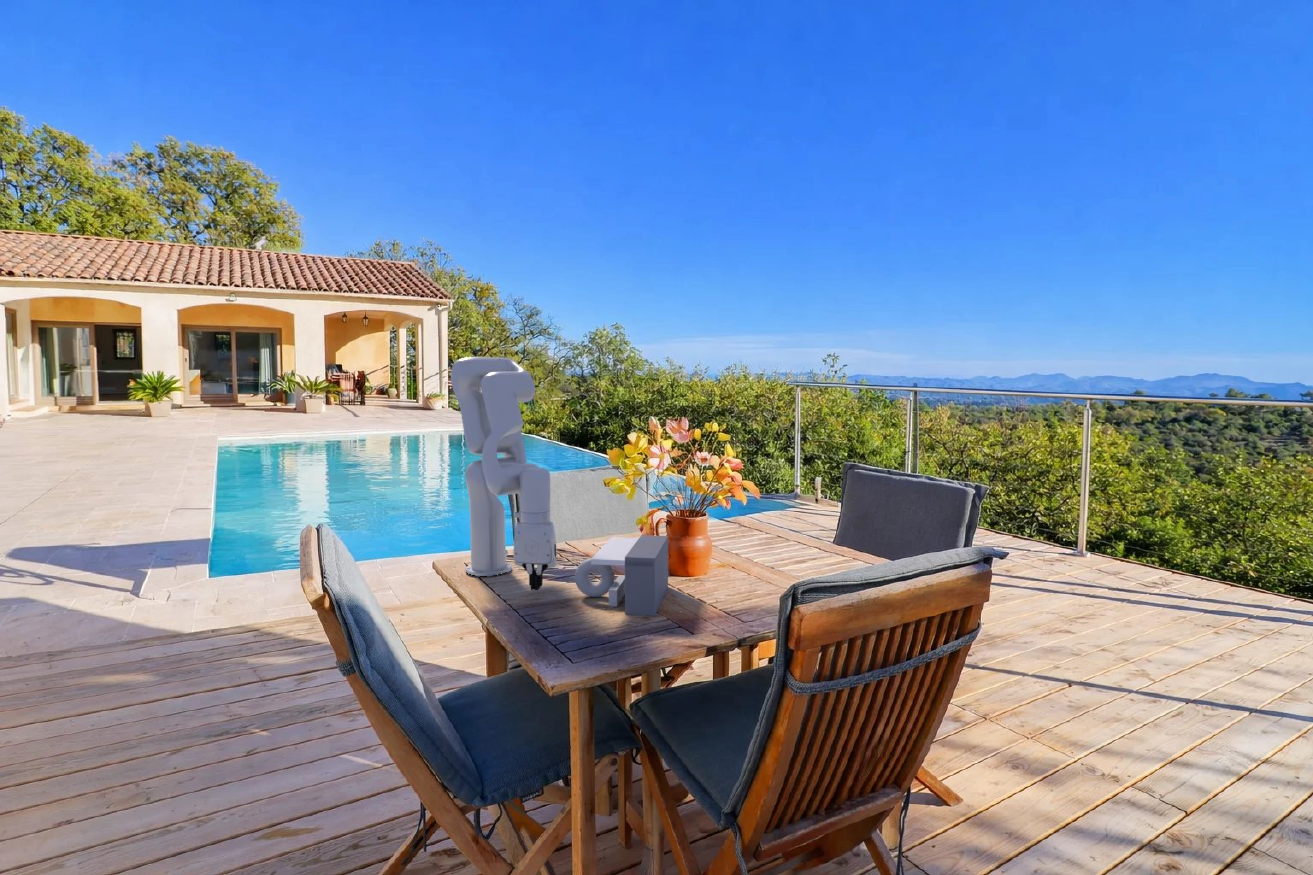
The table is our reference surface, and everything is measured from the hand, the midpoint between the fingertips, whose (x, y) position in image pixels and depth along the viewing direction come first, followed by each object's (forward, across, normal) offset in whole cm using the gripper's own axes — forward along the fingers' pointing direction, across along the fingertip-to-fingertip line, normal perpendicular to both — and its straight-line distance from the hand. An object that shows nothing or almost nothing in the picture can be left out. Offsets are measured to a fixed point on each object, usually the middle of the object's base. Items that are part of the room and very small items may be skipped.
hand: (535, 588), depth 178 cm
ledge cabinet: (+1, +24, 0) cm, 24 cm away
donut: (+1, +15, 0) cm, 15 cm away
